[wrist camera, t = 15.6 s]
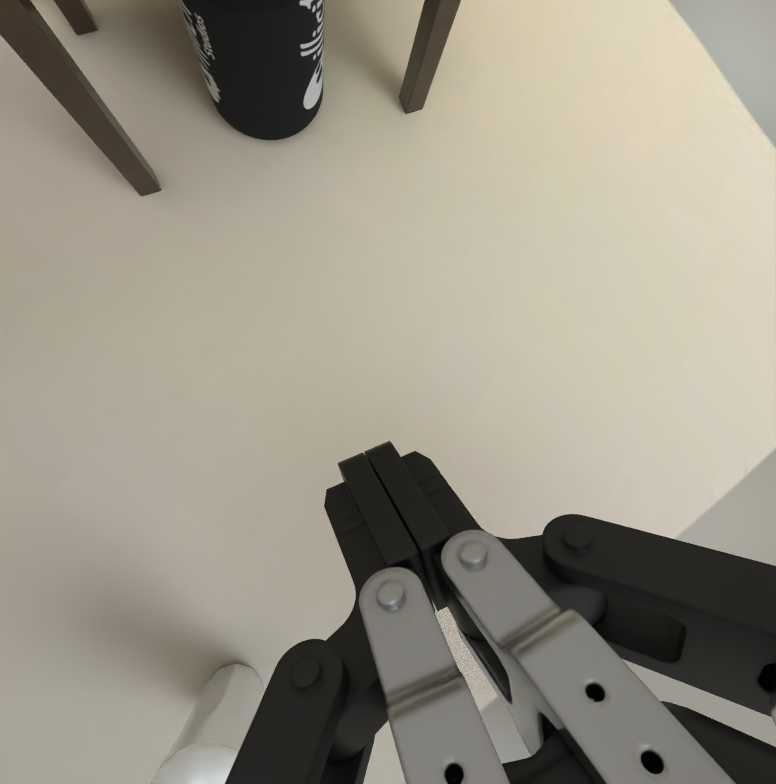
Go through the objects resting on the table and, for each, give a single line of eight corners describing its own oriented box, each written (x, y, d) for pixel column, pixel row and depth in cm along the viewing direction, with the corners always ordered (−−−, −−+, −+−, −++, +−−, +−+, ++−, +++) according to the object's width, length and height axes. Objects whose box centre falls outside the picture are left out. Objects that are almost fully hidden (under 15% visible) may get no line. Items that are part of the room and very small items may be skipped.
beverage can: (295, 166, 30) (280, 13, 18) (192, 114, 29) (107, -80, 17) (340, 72, 31) (353, -135, 19) (240, 19, 30) (188, -233, 18)
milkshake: (167, 710, 29) (87, 874, 19) (230, 635, 29) (184, 756, 19) (228, 756, 29) (181, 941, 19) (289, 682, 30) (274, 824, 20)
